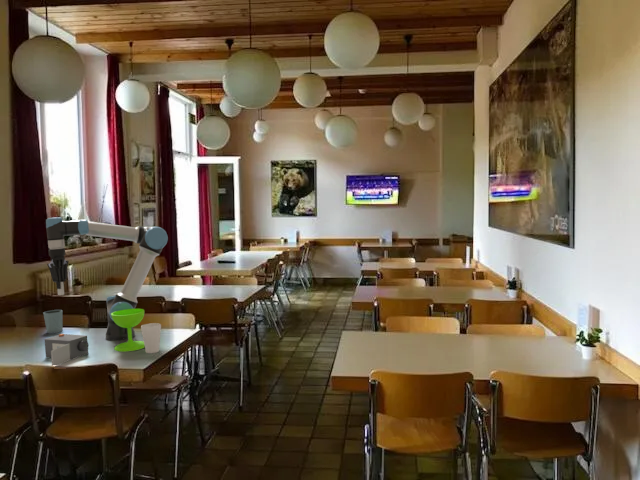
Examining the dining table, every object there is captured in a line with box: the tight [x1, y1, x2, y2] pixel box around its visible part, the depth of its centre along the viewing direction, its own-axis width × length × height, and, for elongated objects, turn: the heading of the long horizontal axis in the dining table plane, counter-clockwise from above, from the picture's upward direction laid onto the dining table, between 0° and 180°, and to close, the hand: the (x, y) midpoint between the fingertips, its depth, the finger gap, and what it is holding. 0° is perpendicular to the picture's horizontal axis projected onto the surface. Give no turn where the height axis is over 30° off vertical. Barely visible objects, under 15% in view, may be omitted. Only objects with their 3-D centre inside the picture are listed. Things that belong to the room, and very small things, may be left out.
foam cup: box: [140, 322, 162, 354], centre depth 284 cm, size 10×9×13 cm
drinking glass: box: [42, 309, 64, 334], centre depth 340 cm, size 10×10×12 cm
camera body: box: [43, 333, 89, 361], centre depth 283 cm, size 18×11×10 cm, turn 67°
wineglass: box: [111, 307, 145, 353], centre depth 294 cm, size 16×16×18 cm
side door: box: [50, 343, 71, 366], centre depth 268 cm, size 14×1×8 cm, turn 171°
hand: (61, 294), depth 294 cm, fingers closed
